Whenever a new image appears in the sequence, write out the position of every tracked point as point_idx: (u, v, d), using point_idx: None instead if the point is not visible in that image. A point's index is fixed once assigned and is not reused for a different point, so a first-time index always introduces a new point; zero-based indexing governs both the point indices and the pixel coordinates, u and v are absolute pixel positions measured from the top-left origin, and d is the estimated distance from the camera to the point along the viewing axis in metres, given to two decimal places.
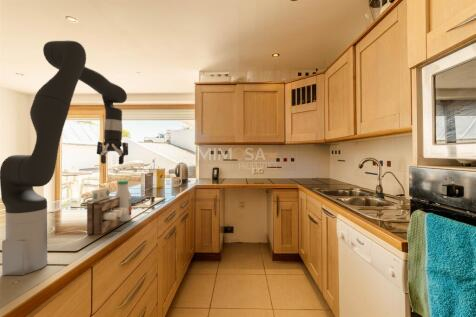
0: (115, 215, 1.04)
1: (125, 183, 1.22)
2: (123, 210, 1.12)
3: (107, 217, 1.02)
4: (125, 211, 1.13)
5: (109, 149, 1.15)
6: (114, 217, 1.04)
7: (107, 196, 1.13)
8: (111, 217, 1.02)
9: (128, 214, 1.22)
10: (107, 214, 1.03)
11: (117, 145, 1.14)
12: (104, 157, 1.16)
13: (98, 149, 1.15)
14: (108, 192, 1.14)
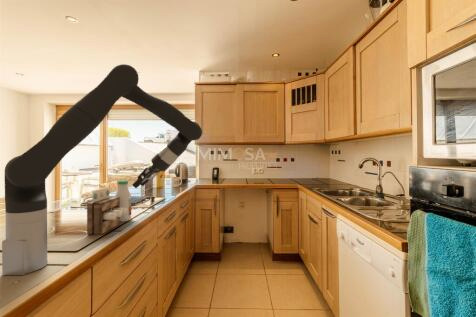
0: (115, 215, 1.04)
1: (125, 183, 1.22)
2: (123, 210, 1.12)
3: (107, 217, 1.02)
4: (125, 211, 1.13)
5: None
6: (114, 217, 1.04)
7: (107, 196, 1.13)
8: (111, 217, 1.02)
9: (128, 214, 1.22)
10: (107, 214, 1.03)
11: None
12: (145, 180, 1.06)
13: None
14: (108, 192, 1.14)
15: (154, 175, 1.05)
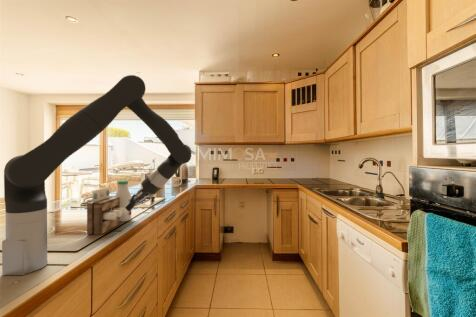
0: (115, 215, 1.04)
1: (125, 183, 1.22)
2: (123, 210, 1.12)
3: (107, 217, 1.02)
4: (125, 211, 1.13)
5: None
6: (114, 217, 1.04)
7: (107, 196, 1.13)
8: (111, 217, 1.02)
9: (128, 214, 1.22)
10: (107, 214, 1.03)
11: None
12: None
13: None
14: (108, 192, 1.14)
15: (144, 198, 1.04)
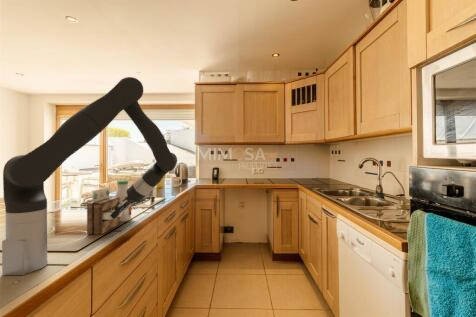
0: None
1: (125, 183, 1.22)
2: None
3: (104, 217, 1.02)
4: (125, 211, 1.13)
5: None
6: (111, 217, 1.04)
7: (107, 196, 1.13)
8: (108, 217, 1.02)
9: (128, 214, 1.22)
10: (104, 214, 1.03)
11: None
12: (117, 211, 1.04)
13: None
14: (108, 192, 1.14)
15: (129, 205, 1.04)
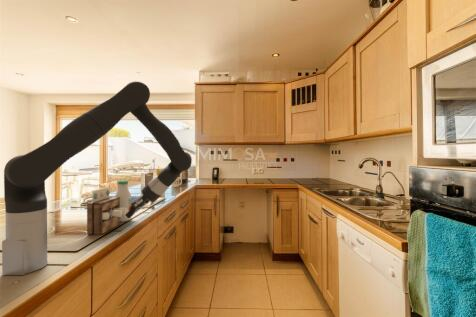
0: (108, 215, 1.04)
1: (125, 183, 1.22)
2: (123, 210, 1.12)
3: None
4: (125, 211, 1.13)
5: None
6: (107, 217, 1.04)
7: (107, 196, 1.13)
8: (104, 217, 1.02)
9: None
10: None
11: None
12: None
13: None
14: (108, 192, 1.14)
15: (144, 205, 1.04)
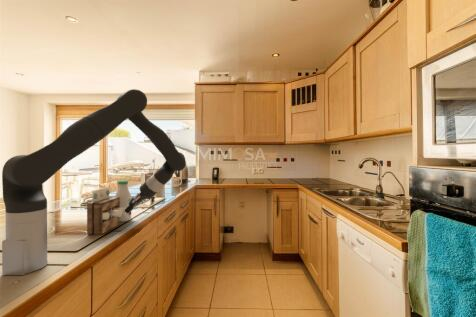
0: (108, 215, 1.04)
1: (125, 183, 1.22)
2: (123, 210, 1.12)
3: None
4: (124, 211, 1.13)
5: None
6: (107, 217, 1.04)
7: (107, 196, 1.13)
8: (104, 217, 1.02)
9: (128, 214, 1.22)
10: None
11: None
12: None
13: None
14: (108, 192, 1.14)
15: (142, 201, 1.13)
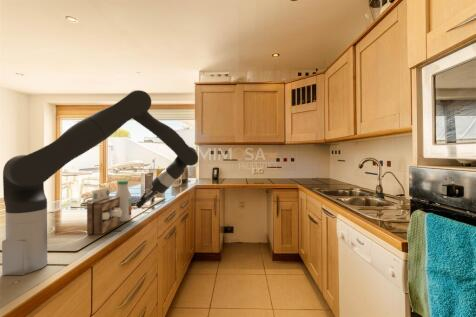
0: (108, 215, 1.04)
1: (125, 183, 1.22)
2: None
3: None
4: None
5: None
6: (107, 217, 1.04)
7: (107, 196, 1.13)
8: (104, 217, 1.02)
9: (128, 214, 1.22)
10: None
11: None
12: None
13: None
14: (108, 192, 1.14)
15: (153, 196, 1.13)
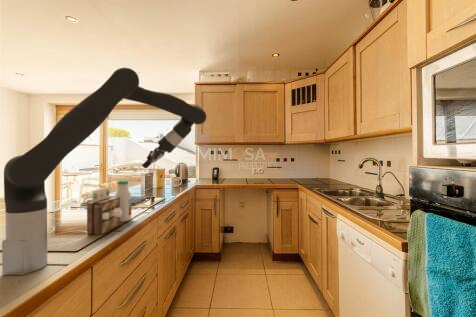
0: (108, 215, 1.04)
1: (125, 183, 1.22)
2: None
3: None
4: None
5: None
6: (107, 217, 1.04)
7: (107, 196, 1.13)
8: (104, 217, 1.02)
9: (128, 214, 1.22)
10: None
11: None
12: None
13: None
14: (108, 192, 1.14)
15: (160, 156, 1.11)
